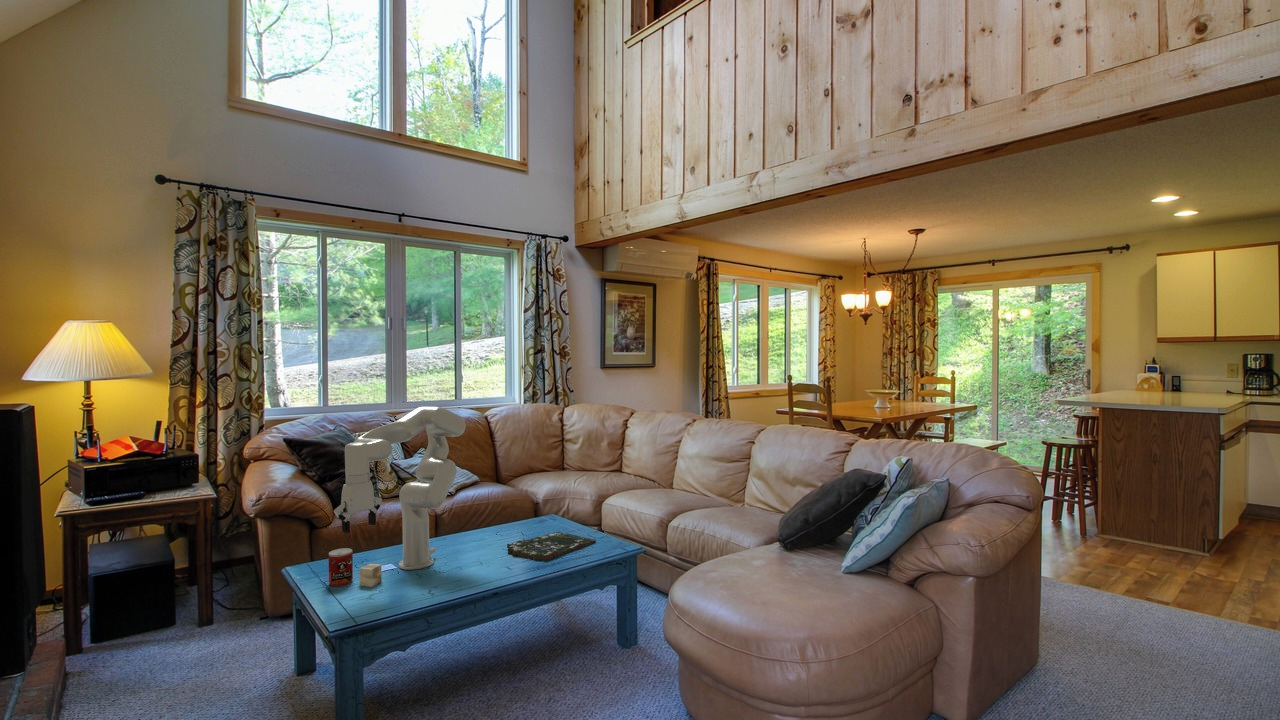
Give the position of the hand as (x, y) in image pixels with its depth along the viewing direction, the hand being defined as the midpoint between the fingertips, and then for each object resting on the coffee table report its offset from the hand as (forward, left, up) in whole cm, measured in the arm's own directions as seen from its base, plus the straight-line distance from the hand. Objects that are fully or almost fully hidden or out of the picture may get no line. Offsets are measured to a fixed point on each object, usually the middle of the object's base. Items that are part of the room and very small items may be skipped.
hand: (359, 528), depth 207 cm
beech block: (-6, -1, -21) cm, 22 cm away
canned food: (-4, -12, -21) cm, 25 cm away
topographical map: (-60, +41, -22) cm, 76 cm away
